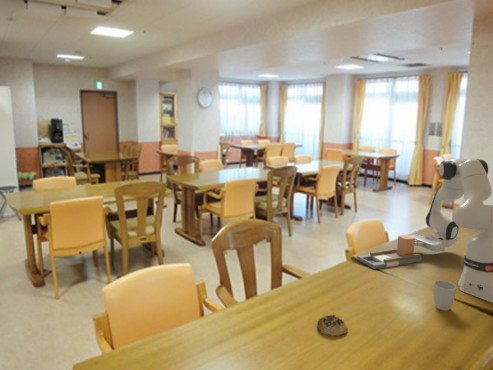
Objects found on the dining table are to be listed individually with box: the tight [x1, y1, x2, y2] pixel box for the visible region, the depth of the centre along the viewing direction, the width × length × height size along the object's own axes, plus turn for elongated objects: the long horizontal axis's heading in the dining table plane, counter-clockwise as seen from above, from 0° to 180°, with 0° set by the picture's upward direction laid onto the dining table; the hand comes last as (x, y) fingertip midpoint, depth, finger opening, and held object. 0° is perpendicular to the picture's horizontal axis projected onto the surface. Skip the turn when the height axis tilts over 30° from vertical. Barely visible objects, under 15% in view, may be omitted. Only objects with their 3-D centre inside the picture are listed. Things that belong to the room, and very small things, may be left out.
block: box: [396, 234, 415, 256], centre depth 203 cm, size 6×6×10 cm
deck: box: [356, 247, 423, 270], centre depth 200 cm, size 14×32×4 cm, turn 111°
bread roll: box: [316, 314, 348, 337], centre depth 134 cm, size 11×11×5 cm
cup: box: [433, 280, 457, 312], centre depth 150 cm, size 8×8×10 cm
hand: (413, 243), depth 205 cm, fingers closed
